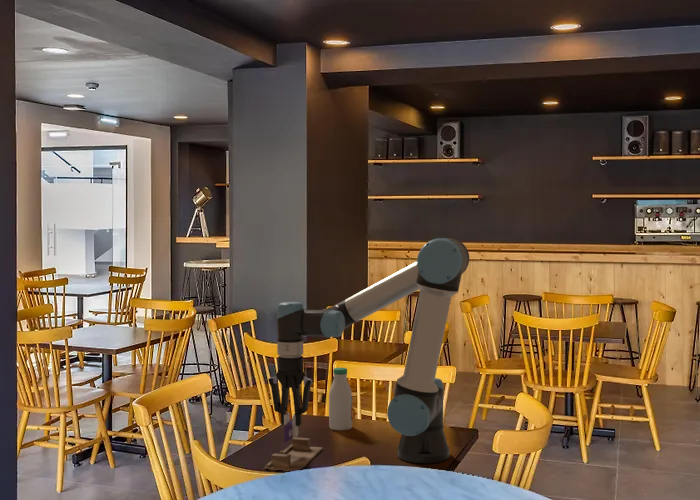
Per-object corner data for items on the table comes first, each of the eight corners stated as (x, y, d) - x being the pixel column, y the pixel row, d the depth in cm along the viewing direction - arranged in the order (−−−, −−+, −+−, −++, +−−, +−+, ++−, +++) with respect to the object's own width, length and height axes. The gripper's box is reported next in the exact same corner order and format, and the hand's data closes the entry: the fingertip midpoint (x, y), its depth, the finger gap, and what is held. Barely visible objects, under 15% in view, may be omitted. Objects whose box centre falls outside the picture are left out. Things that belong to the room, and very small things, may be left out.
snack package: (287, 443, 217) (287, 426, 217) (281, 443, 218) (280, 425, 217) (300, 433, 228) (300, 416, 228) (294, 432, 229) (294, 416, 229)
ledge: (291, 447, 235) (291, 435, 235) (322, 449, 232) (322, 437, 232) (264, 469, 213) (264, 456, 213) (298, 472, 211) (298, 459, 211)
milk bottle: (350, 431, 252) (349, 370, 251) (327, 430, 253) (326, 370, 253) (354, 425, 260) (353, 366, 259) (331, 424, 261) (331, 366, 260)
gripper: (261, 356, 220) (262, 438, 221) (311, 358, 216) (311, 441, 217) (270, 352, 228) (271, 431, 228) (319, 354, 224) (319, 434, 224)
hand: (291, 436), depth 223 cm, fingers closed on snack package, 2 cm apart
